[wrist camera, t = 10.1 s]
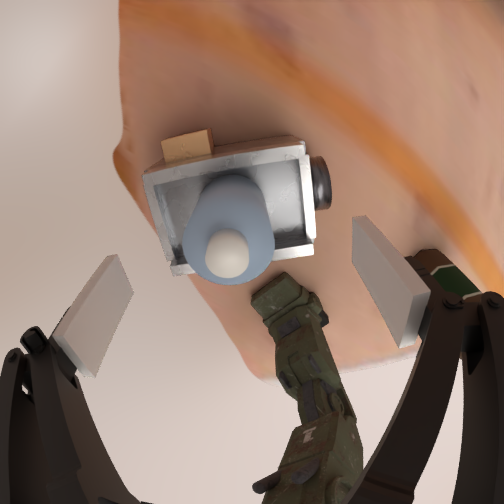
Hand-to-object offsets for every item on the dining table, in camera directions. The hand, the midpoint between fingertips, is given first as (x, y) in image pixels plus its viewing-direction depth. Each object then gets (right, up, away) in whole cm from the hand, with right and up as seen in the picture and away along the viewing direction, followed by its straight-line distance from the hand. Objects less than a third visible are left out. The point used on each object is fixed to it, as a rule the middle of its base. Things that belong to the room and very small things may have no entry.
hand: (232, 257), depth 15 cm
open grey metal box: (0, +8, +13) cm, 15 cm away
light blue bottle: (-1, +4, +8) cm, 9 cm away
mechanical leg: (+6, -6, +21) cm, 22 cm away
